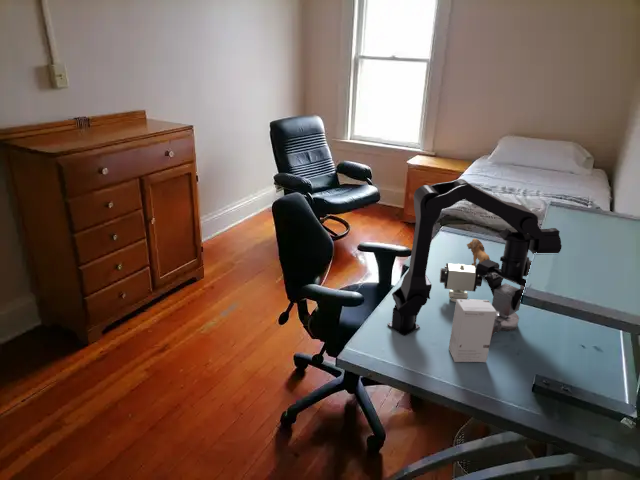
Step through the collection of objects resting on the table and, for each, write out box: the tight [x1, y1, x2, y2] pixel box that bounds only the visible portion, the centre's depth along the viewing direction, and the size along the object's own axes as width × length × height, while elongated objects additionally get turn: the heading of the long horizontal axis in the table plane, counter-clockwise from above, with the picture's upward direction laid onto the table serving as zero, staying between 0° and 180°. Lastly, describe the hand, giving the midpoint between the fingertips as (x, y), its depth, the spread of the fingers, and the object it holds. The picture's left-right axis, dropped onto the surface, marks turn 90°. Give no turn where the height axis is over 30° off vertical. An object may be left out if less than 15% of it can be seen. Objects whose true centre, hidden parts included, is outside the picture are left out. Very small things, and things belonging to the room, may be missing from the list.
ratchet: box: [491, 311, 520, 338], centre depth 126 cm, size 19×8×6 cm, turn 128°
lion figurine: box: [466, 238, 491, 266], centre depth 160 cm, size 15×5×9 cm, turn 11°
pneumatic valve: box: [439, 263, 483, 303], centre depth 140 cm, size 6×12×12 cm, turn 78°
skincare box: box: [448, 298, 496, 363], centre depth 115 cm, size 8×6×15 cm
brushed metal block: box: [491, 283, 521, 316], centre depth 128 cm, size 5×5×6 cm
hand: (505, 305), depth 128 cm, fingers closed on brushed metal block, 5 cm apart
